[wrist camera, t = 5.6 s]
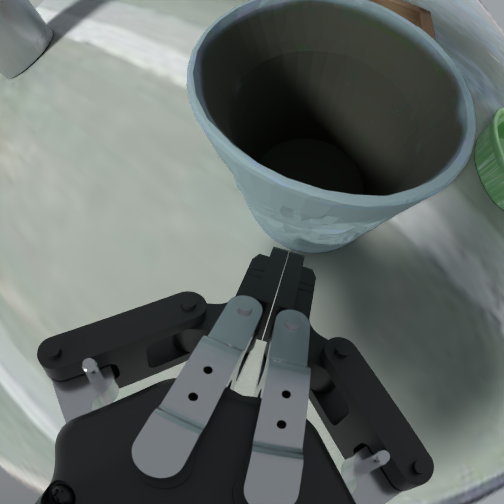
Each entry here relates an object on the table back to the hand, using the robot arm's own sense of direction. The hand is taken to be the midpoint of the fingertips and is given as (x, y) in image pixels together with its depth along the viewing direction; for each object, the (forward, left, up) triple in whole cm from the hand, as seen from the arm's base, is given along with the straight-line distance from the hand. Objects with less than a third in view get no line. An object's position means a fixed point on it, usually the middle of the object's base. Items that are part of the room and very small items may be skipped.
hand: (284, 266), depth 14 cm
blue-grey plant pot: (0, +6, -5) cm, 8 cm away
